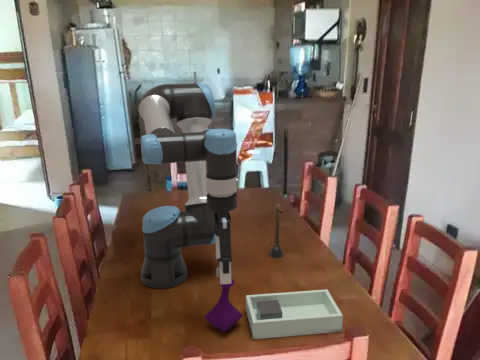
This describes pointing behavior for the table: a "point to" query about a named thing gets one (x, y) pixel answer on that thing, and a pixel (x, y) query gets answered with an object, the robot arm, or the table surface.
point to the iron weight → (268, 310)
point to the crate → (295, 314)
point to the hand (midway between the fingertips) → (223, 270)
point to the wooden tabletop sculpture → (277, 234)
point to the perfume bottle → (223, 309)
